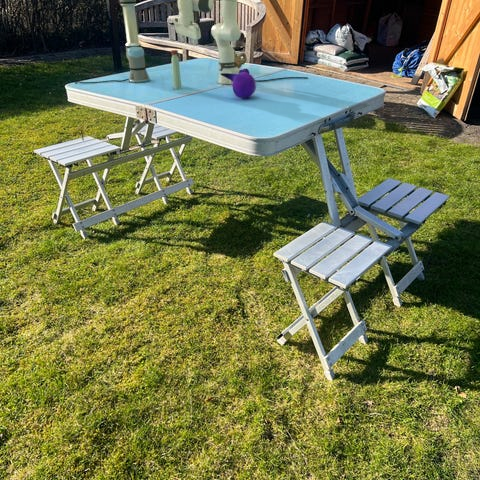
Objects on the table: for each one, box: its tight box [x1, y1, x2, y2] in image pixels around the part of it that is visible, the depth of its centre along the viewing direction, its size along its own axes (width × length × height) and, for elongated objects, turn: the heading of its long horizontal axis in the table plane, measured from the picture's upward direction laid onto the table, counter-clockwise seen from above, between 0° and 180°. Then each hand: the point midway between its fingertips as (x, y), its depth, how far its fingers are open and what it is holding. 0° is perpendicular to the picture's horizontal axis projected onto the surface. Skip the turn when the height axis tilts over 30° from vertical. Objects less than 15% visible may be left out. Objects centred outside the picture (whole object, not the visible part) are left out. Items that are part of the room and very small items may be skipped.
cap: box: [170, 49, 179, 56], centre depth 302 cm, size 4×4×2 cm
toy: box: [221, 68, 257, 99], centre depth 286 cm, size 16×18×27 cm
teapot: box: [234, 50, 247, 69], centre depth 367 cm, size 21×12×15 cm, turn 120°
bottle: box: [171, 54, 182, 90], centre depth 308 cm, size 5×5×24 cm
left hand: (196, 30), depth 347 cm, fingers open, 13 cm apart
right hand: (189, 43), depth 282 cm, fingers open, 8 cm apart
